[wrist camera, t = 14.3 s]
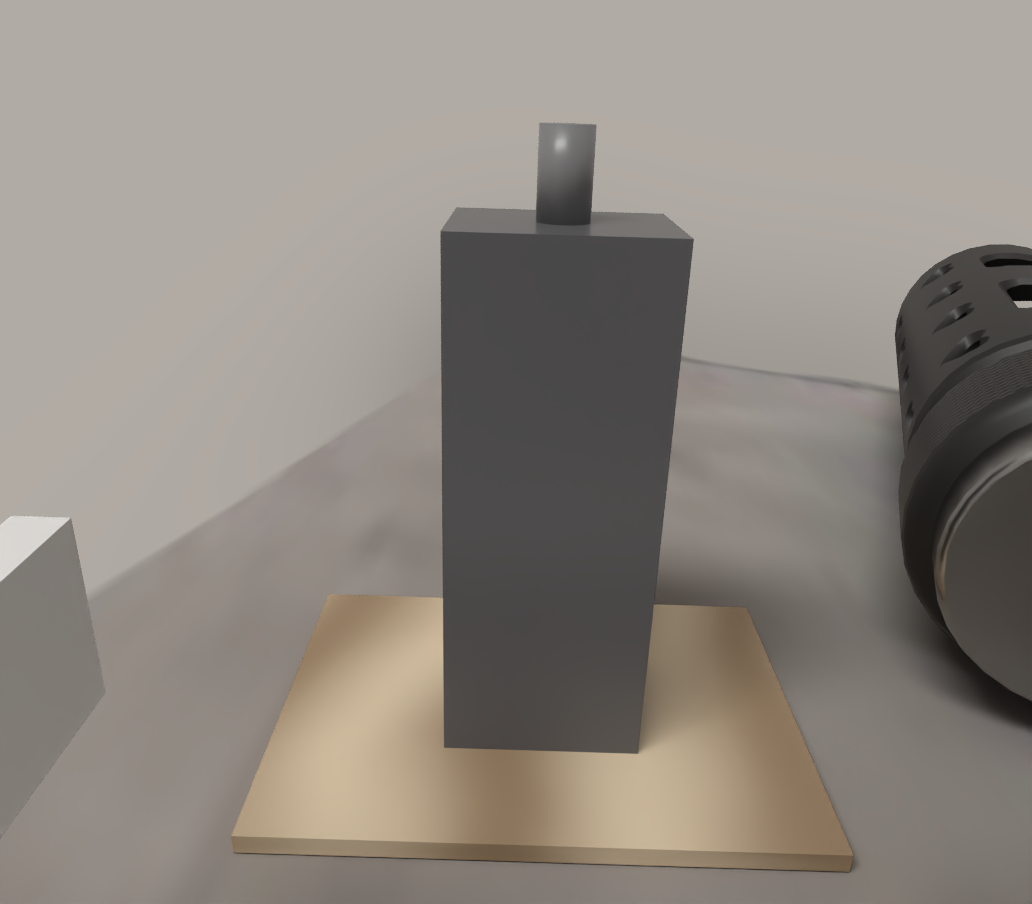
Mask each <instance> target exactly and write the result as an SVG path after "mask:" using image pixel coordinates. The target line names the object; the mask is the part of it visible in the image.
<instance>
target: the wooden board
mask: <svg viewBox="0 0 1032 904" xmlns="http://www.w3.org/2000/svg"><path fill="white" fill-rule="evenodd" d="M231 838H232V845H233V852H235V853H267V854H299V855H331V856H363V857H394V858H426V859H458V860H490V861H522V862H553V863H585V864H617V865H649V866H681V867H712V868H744V869H776V870H808V871H840V872H850V869H851V865H852V861H853V857H854V855H853V853H852V850H851V848H850V846H849V843H848V841H847V839H846V836H845V834H844V832H843V830H842V827H841V825H840V823H839V820H838V818H837V816H836V813H835V811H834V809H833V806H832V804H831V802H830V799H829V797H828V795H827V793H826V790H825V788H824V786H823V783H822V781H821V779H820V776H819V774H818V772H817V769H816V767H815V765H814V763H813V760H812V758H811V756H810V753H809V751H808V749H807V746H806V744H805V742H804V739H803V737H802V735H801V733H800V730H799V728H798V726H797V723H796V721H795V719H794V716H793V714H792V712H791V709H790V707H789V705H788V702H787V700H786V698H785V696H784V693H783V691H782V689H781V686H780V684H779V682H778V679H777V677H776V675H775V672H774V670H773V668H772V666H771V663H770V661H769V659H768V656H767V654H766V652H765V649H764V647H763V645H762V642H761V640H760V638H759V635H758V633H757V631H756V629H755V626H754V624H753V622H752V619H751V617H750V615H749V612H748V610H747V608H746V607H721V606H689V605H657V604H654V610H653V619H652V628H651V637H650V646H649V656H648V665H647V674H646V683H645V692H644V702H643V711H642V720H641V729H640V739H639V748H638V754H626V753H594V752H562V751H531V750H499V749H467V748H444V688H443V598H433V597H401V596H369V595H337V594H329V595H328V597H327V600H326V602H325V605H324V607H323V610H322V612H321V615H320V617H319V620H318V622H317V625H316V627H315V630H314V632H313V635H312V637H311V639H310V642H309V644H308V647H307V649H306V652H305V654H304V657H303V659H302V662H301V664H300V667H299V669H298V672H297V674H296V677H295V679H294V682H293V684H292V687H291V689H290V692H289V694H288V696H287V699H286V701H285V704H284V706H283V709H282V711H281V714H280V716H279V719H278V721H277V724H276V726H275V729H274V731H273V734H272V736H271V739H270V741H269V744H268V746H267V749H266V751H265V754H264V756H263V758H262V761H261V763H260V766H259V768H258V771H257V773H256V776H255V778H254V781H253V783H252V786H251V788H250V791H249V793H248V796H247V798H246V801H245V803H244V806H243V808H242V811H241V813H240V815H239V818H238V820H237V823H236V825H235V828H234V830H233V833H232V835H231Z"/></svg>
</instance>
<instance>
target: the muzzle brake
mask: <svg viewBox="0 0 1032 904" xmlns="http://www.w3.org/2000/svg"><path fill="white" fill-rule="evenodd" d="M1013 301H1032V249H1030V248H1027V247H1021V246H1015V245H986V246H981V247H975V248H970V249H967V250H964V251H962V252H959V253H956V254H953V255H951V256H950V257H948V258H946V259H944V260H942V261H941V262H939V263H937V264H935V265H934V266H933V267H932V268H930V269H929V270H928V271H927V272H926V273H924V274H923V275H922V276H921V277H920V278H919V280H918V281H917V282H916V283H915V284H914V286H913V287H912V288H911V289H910V291H909V293H908V294H907V296H906V298H905V300H904V301H903V303H902V305H901V309H900V312H899V315H898V318H897V324H896V332H895V342H896V354H897V366H898V378H899V391H900V403H901V415H902V427H903V439H904V451H905V458H904V461H903V463H902V466H901V475H900V484H899V510H900V527H901V540H902V548H903V556H904V564H905V568H906V570H907V573H908V576H909V578H910V581H911V584H912V586H913V589H914V592H915V594H916V595H917V597H918V598H919V600H920V601H921V603H922V604H923V606H924V607H925V609H926V610H927V612H928V614H929V615H930V617H931V618H932V619H933V620H934V621H935V622H936V623H937V624H938V625H939V626H940V627H941V628H942V629H943V631H944V632H945V633H946V634H947V635H948V636H949V637H950V638H951V639H952V640H953V641H954V642H955V643H957V644H958V645H959V646H960V647H961V649H962V650H963V651H964V652H965V653H966V654H967V655H968V656H969V657H970V658H971V659H972V660H973V661H974V662H975V663H976V664H977V665H978V666H979V667H980V668H981V669H982V670H983V671H984V672H985V673H986V674H988V675H989V676H991V677H992V678H993V679H995V680H996V681H998V682H999V683H1000V684H1002V685H1003V686H1004V687H1006V688H1007V689H1009V690H1010V691H1012V692H1014V693H1016V694H1018V695H1020V696H1022V697H1024V698H1026V699H1028V700H1030V701H1032V308H1018V307H1017V306H1016V304H1015V303H1014V302H1013Z"/></svg>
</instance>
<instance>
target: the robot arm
mask: <svg viewBox="0 0 1032 904" xmlns="http://www.w3.org/2000/svg"><path fill="white" fill-rule="evenodd" d="M105 692H106V691H105V686H104V681H103V676H102V671H101V666H100V661H99V656H98V651H97V646H96V641H95V636H94V631H93V626H92V621H91V616H90V611H89V606H88V601H87V596H86V591H85V586H84V581H83V576H82V571H81V566H80V561H79V555H78V550H77V546H76V541H75V535H74V530H73V525H72V521H71V518H60V517H59V518H58V517H29V516H11V517H9V518H8V519H7V520H6V521H5V522H3V523H2V524H1V525H0V838H1V837H2V836H3V834H4V833H5V831H6V830H7V829H8V827H9V826H10V824H11V823H12V822H13V820H14V819H15V818H16V816H17V815H18V813H19V812H20V811H21V809H22V808H23V806H24V805H25V804H26V802H27V801H28V799H29V798H30V797H31V795H32V794H33V793H34V791H35V790H36V788H37V787H38V786H39V784H40V783H41V781H42V780H43V779H44V777H45V776H46V774H47V773H48V772H49V770H50V769H51V768H52V766H53V765H54V763H55V762H56V761H57V759H58V758H59V756H60V755H61V754H62V752H63V751H64V749H65V748H66V747H67V745H68V744H69V742H70V741H71V740H72V738H73V737H74V736H75V734H76V733H77V731H78V730H79V729H80V727H81V726H82V724H83V723H84V722H85V720H86V719H87V717H88V716H89V715H90V713H91V712H92V711H93V709H94V708H95V706H96V705H97V704H98V702H99V701H100V699H101V698H102V697H103V695H104V694H105Z"/></svg>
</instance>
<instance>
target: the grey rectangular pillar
mask: <svg viewBox="0 0 1032 904" xmlns="http://www.w3.org/2000/svg"><path fill="white" fill-rule="evenodd" d="M595 141H596V125H594V124H574V123H539V148H538V176H537V177H538V178H537V203H536V204H537V205H536V210H519V209H485V208H456V209H455V211H454V212H453V214H452V215H451V217H450V218H449V220H448V221H447V223H446V224H445V225H444V227H443V229H442V230H441V357H442V358H441V372H442V530H443V688H444V748H467V749H499V750H531V751H562V752H594V753H626V754H638V748H639V739H640V729H641V720H642V711H643V702H644V692H645V683H646V674H647V665H648V656H649V646H650V637H651V628H652V619H653V610H654V600H655V591H656V582H657V573H658V563H659V554H660V545H661V536H662V527H663V517H664V508H665V499H666V490H667V481H668V471H669V462H670V453H671V444H672V434H673V425H674V416H675V407H676V398H677V388H678V379H679V370H680V361H681V352H682V342H683V333H684V324H685V314H686V305H687V295H688V286H689V278H690V268H691V259H692V250H693V241H694V239H693V238H692V237H691V236H689V235H688V234H687V233H686V232H685V231H683V230H682V229H681V228H680V227H679V226H677V225H676V224H675V223H674V222H672V221H671V220H670V219H669V218H668V217H666V216H665V215H664V214H648V213H646V214H645V213H616V212H613V213H612V212H591V207H592V190H593V174H594V158H595Z"/></svg>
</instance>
